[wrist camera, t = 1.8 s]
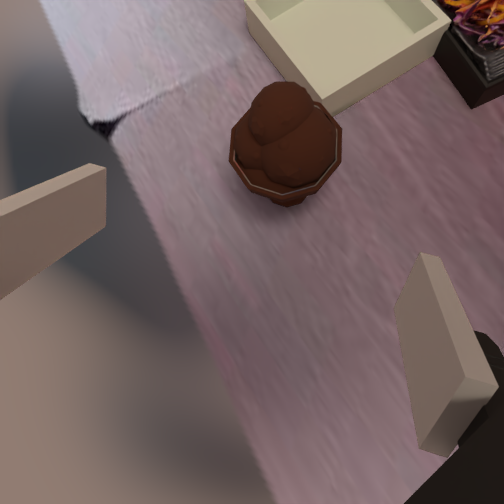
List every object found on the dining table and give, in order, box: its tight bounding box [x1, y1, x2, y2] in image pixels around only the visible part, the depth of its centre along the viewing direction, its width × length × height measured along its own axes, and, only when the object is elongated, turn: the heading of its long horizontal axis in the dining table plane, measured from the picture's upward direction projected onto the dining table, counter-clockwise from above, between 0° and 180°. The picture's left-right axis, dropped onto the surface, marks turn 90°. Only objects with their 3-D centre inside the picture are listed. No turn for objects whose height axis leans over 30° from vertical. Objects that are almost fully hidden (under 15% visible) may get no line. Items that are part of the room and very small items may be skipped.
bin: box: [244, 0, 452, 117], centre depth 47 cm, size 17×17×5 cm
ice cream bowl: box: [229, 82, 342, 207], centre depth 39 cm, size 11×11×15 cm
